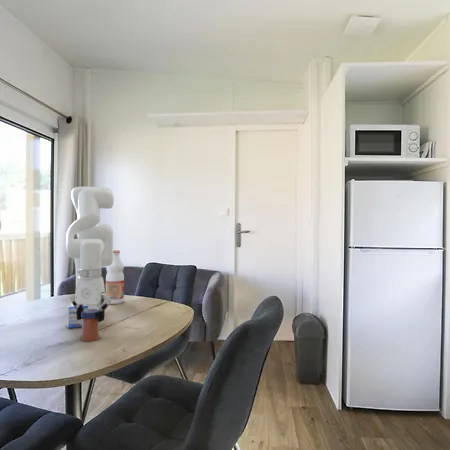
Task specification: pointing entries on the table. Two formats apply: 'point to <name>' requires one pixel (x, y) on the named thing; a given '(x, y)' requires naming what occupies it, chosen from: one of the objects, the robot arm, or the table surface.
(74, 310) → the medicine box
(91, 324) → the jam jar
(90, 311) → the jam lid
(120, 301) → the fruit juice
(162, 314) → the table surface
